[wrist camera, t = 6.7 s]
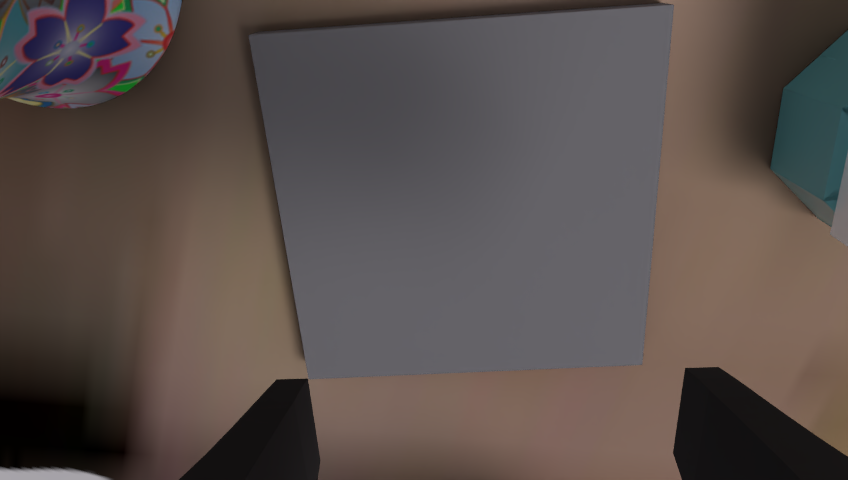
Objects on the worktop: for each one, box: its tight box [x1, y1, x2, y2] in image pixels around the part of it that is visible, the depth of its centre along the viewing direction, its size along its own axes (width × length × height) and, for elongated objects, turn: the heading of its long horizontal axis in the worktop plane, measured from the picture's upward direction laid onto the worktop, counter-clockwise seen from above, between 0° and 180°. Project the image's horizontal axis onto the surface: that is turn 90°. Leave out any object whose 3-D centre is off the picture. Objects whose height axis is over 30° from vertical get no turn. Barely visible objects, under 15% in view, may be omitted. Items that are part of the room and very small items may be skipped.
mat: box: [249, 3, 674, 379], centre depth 20 cm, size 12×12×1 cm
